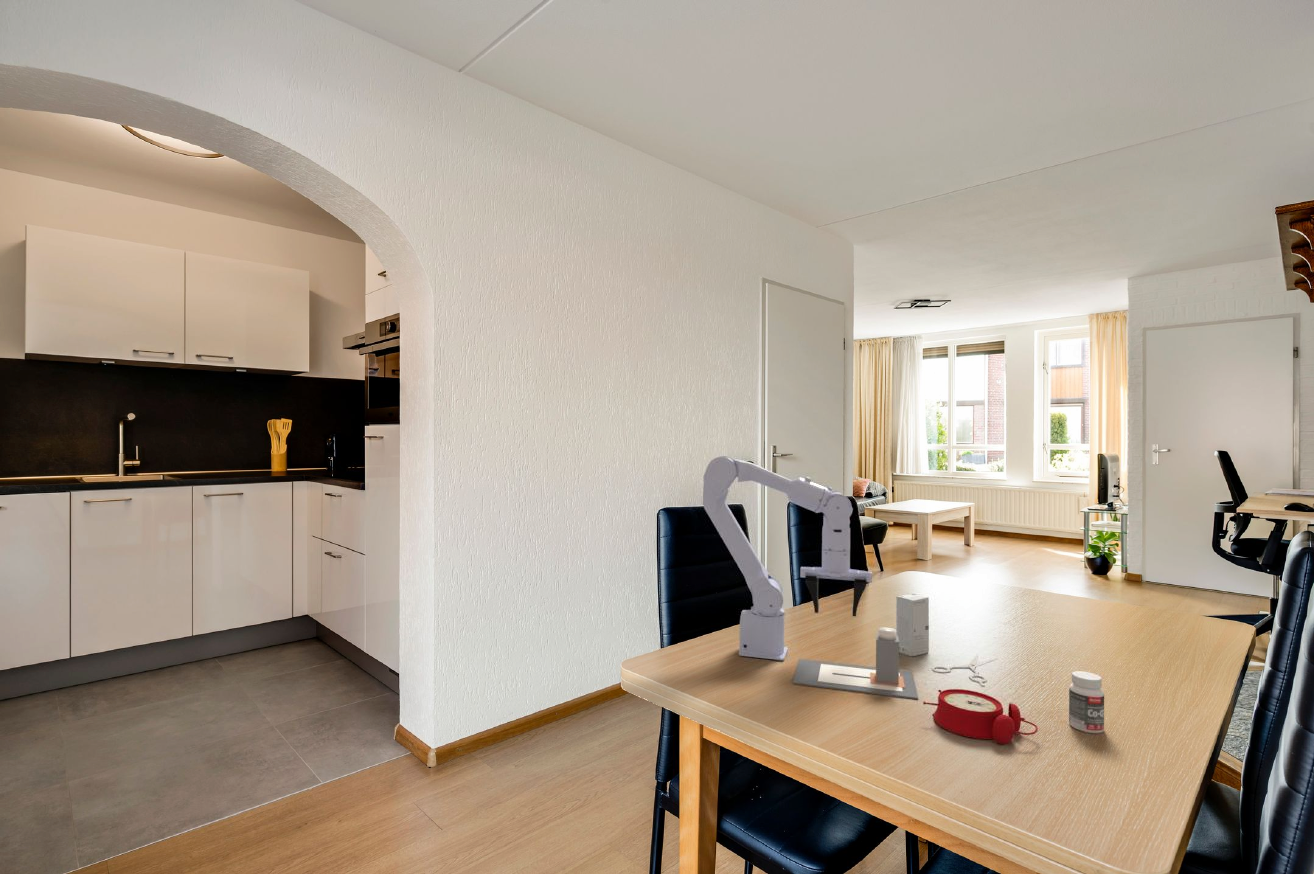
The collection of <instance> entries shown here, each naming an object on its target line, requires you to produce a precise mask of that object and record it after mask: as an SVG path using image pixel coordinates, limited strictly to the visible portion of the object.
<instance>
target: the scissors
mask: <svg viewBox="0 0 1314 874" xmlns="http://www.w3.org/2000/svg"><path fill="white" fill-rule="evenodd" d="M978 655H979V653H977V654H976V655H975V656H974V657H973V658H972V660H971V661H970V662H969V663H966V664H964V665H959V666H955V665H953V666H950V667H949V666H933V667H932V668H931V670H932V672H933V673H934V672H935V673H938V674H948V673H951V672H952V670H956V669H958V670H959V669H962V670H963V669H966V670H967V669H969V670H970V671H972V672H973V673H974V674H969V675H968V679H969V680H971V681H973V682H974V683H975V682H976V683H978V684H979V685H980V686H981V687H983V688H985V687H986V685H985V684H984V683H987V682H988V678H987V677H986V676H983V675H981V674H979V671H978V670H976V668H977V667H979V666H980V667H981V666H983V665H985V664H988V663H991V662H992V661H995V660H998V658H993V659H989V660H985V661H982V662H979V663H978ZM937 669H943V670H942V671H941V670H937ZM976 678H979V679H983V680H978V679H976Z"/></svg>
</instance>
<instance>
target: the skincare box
mask: <svg viewBox="0 0 1314 874" xmlns="http://www.w3.org/2000/svg"><path fill="white" fill-rule="evenodd" d="M929 599H930V598H929V597H928V596H925V595H919V594H915V593H912V594H911V593H910V594H903V595H898V596H896V604H895V605H896V612H895V613H896V626H895V628H896V629H895V630H896V636H898V639H899V654H902V655H906V656H909V657H915V656H919V655H924V654H928V653H929V651H930V645H929V644H930V643H929V641H930V636H929V635H930V633H929V632H930V631H929V629H930V624H929V623H930V620H929V619H930V618H929V617H930V616H929V614H930V612H929V611H930V609H929V606H930V605H929V603H930V602H929Z"/></svg>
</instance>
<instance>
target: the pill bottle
mask: <svg viewBox="0 0 1314 874" xmlns="http://www.w3.org/2000/svg"><path fill="white" fill-rule="evenodd" d="M1102 679H1103V678H1102V677H1101V676H1100V675H1098V674H1095V673H1092V672H1088V671H1083V670H1081V671H1080V670H1077V671H1073V672H1072V673H1071V684H1069V688H1068V689H1069V690H1068V693H1069V694H1068V723H1069V725H1070V726H1071V727H1072V728H1074V729H1076V730H1078V731H1081V732H1084V733H1088V734H1100V733H1103V732H1104V730H1105V692H1104V690H1103V689H1102V686H1103V682H1102Z"/></svg>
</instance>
